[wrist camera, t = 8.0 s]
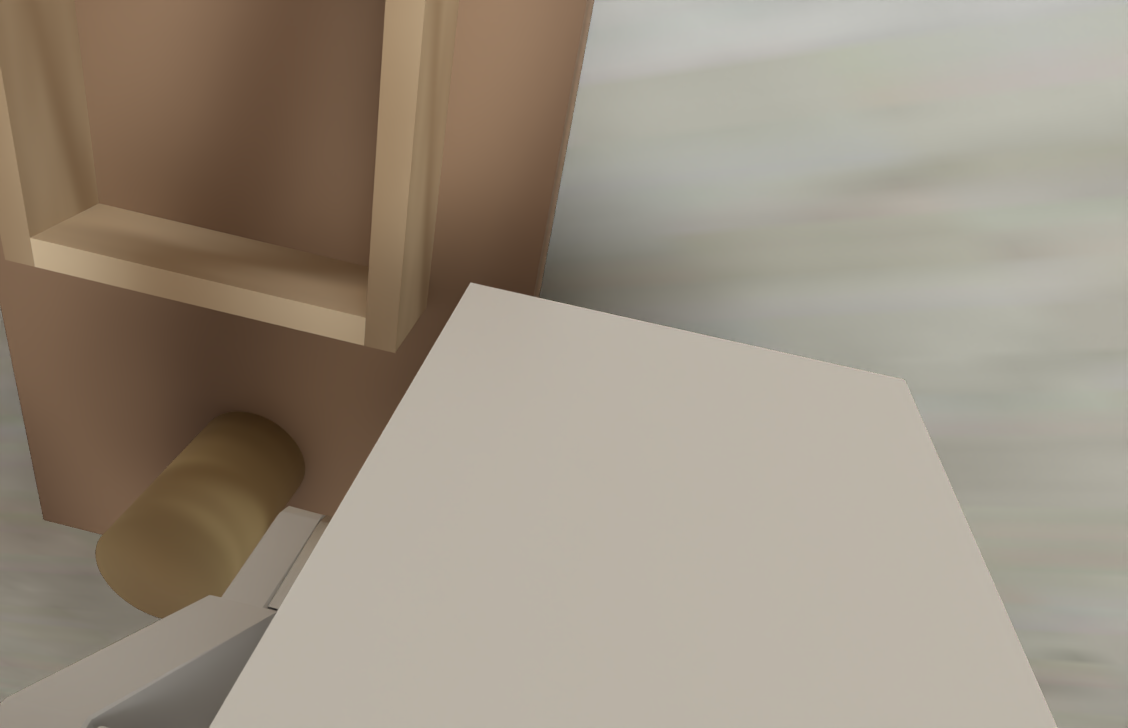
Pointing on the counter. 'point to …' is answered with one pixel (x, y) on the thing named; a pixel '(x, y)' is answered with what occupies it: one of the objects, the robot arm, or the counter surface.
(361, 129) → the board
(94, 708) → the robot arm
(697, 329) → the counter surface
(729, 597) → the block
